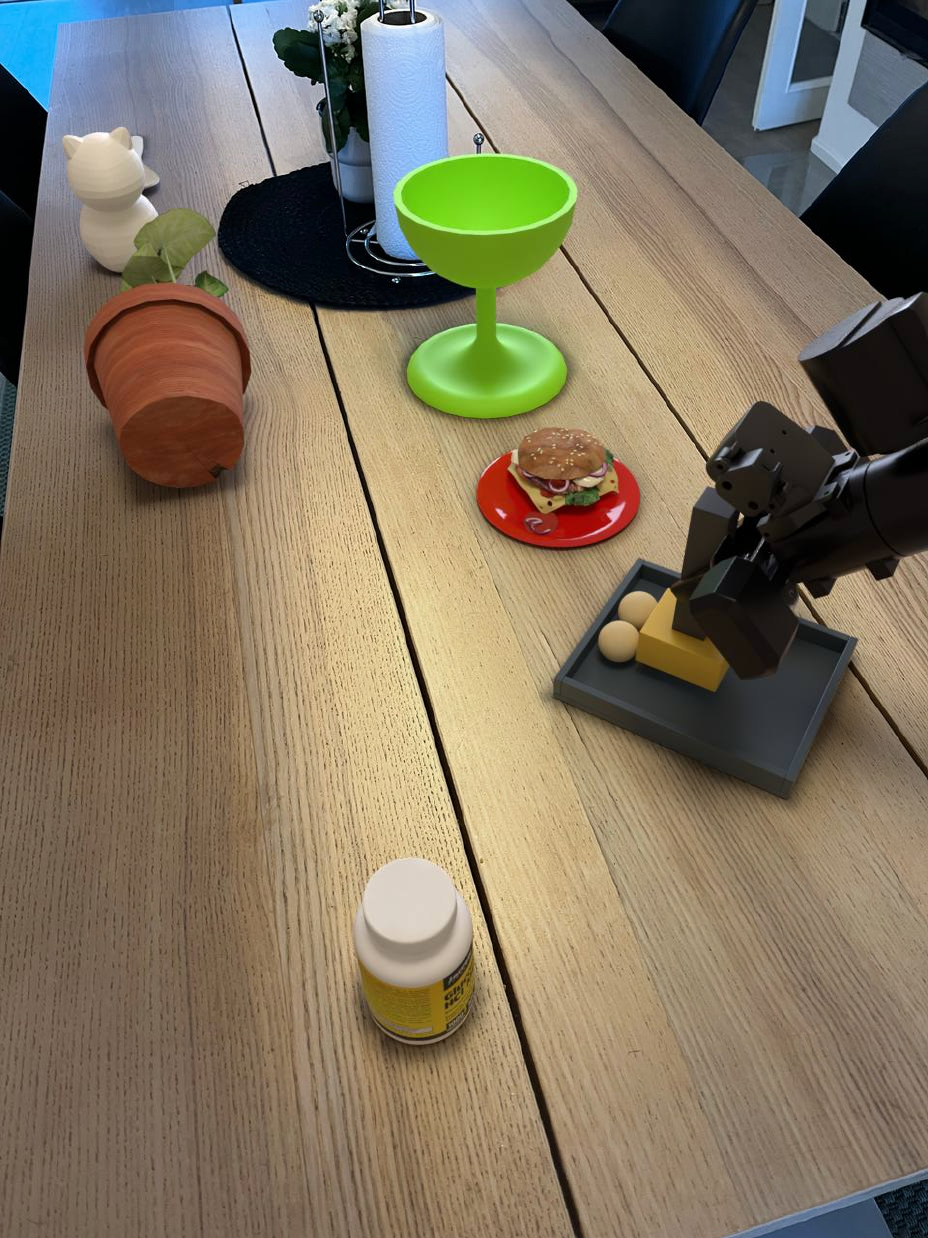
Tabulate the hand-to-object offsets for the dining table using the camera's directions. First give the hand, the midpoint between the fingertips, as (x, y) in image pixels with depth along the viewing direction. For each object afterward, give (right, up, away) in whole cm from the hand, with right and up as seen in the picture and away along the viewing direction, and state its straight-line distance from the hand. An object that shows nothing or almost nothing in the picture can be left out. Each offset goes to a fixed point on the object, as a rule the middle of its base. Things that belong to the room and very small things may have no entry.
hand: (682, 580), depth 69 cm
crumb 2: (-4, -4, +5) cm, 7 cm away
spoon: (-58, +58, +69) cm, 107 cm away
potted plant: (-43, +19, +31) cm, 56 cm away
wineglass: (-12, +22, +33) cm, 42 cm away
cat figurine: (-54, +40, +51) cm, 84 cm away
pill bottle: (-17, -24, -10) cm, 31 cm away
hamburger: (-7, +8, +20) cm, 22 cm away
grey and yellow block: (+1, -5, +4) cm, 7 cm away
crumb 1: (-2, -2, +7) cm, 7 cm away
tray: (+3, -7, +5) cm, 9 cm away
